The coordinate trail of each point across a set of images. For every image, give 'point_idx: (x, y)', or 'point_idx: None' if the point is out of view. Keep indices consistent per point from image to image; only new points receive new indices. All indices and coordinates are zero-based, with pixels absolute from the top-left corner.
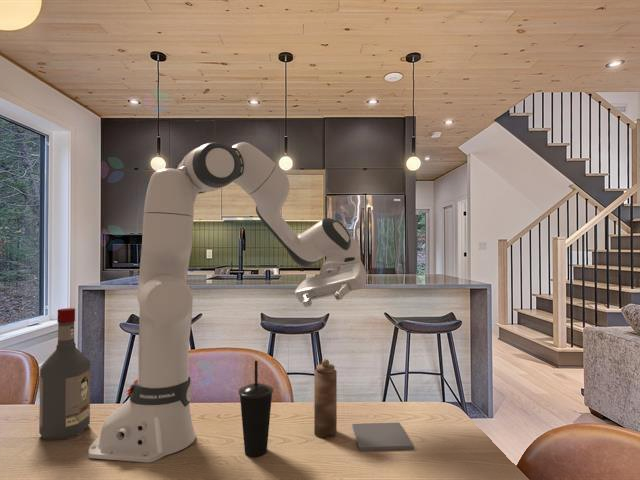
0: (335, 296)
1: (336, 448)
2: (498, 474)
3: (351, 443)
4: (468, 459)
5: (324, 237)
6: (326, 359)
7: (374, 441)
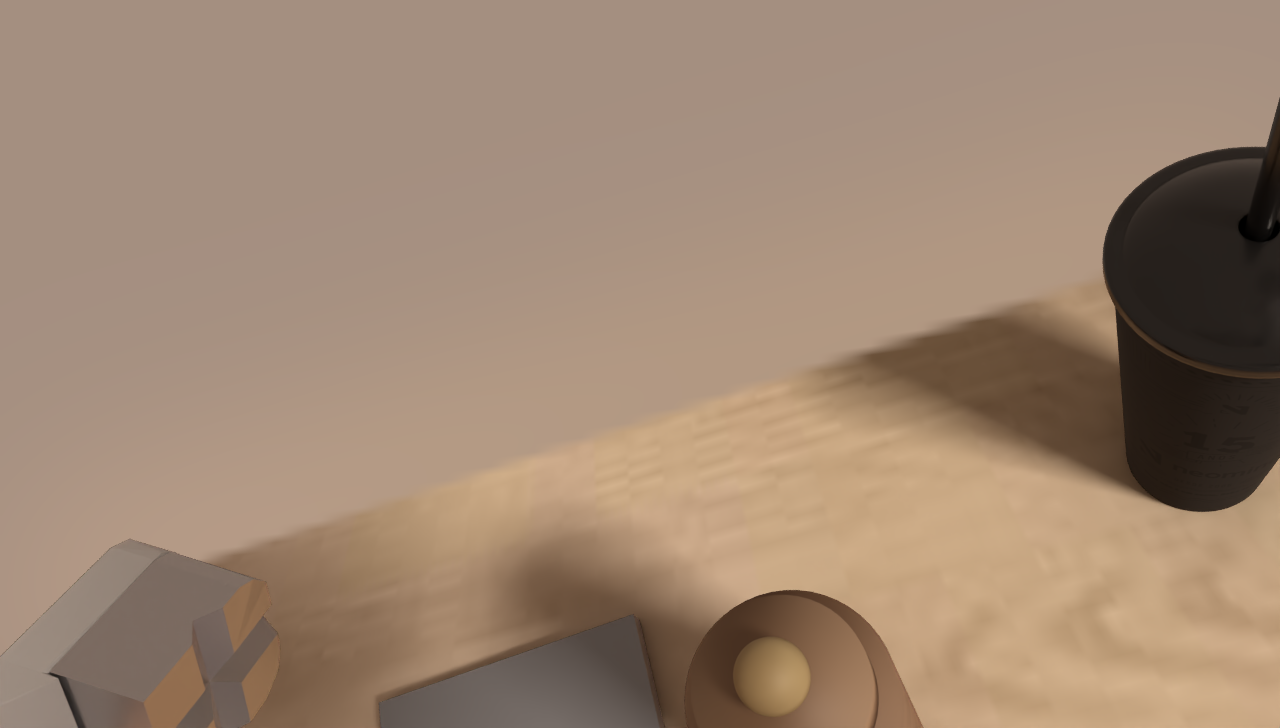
0: (247, 580)
1: None
2: None
3: None
4: None
5: None
6: (754, 672)
7: (561, 698)
